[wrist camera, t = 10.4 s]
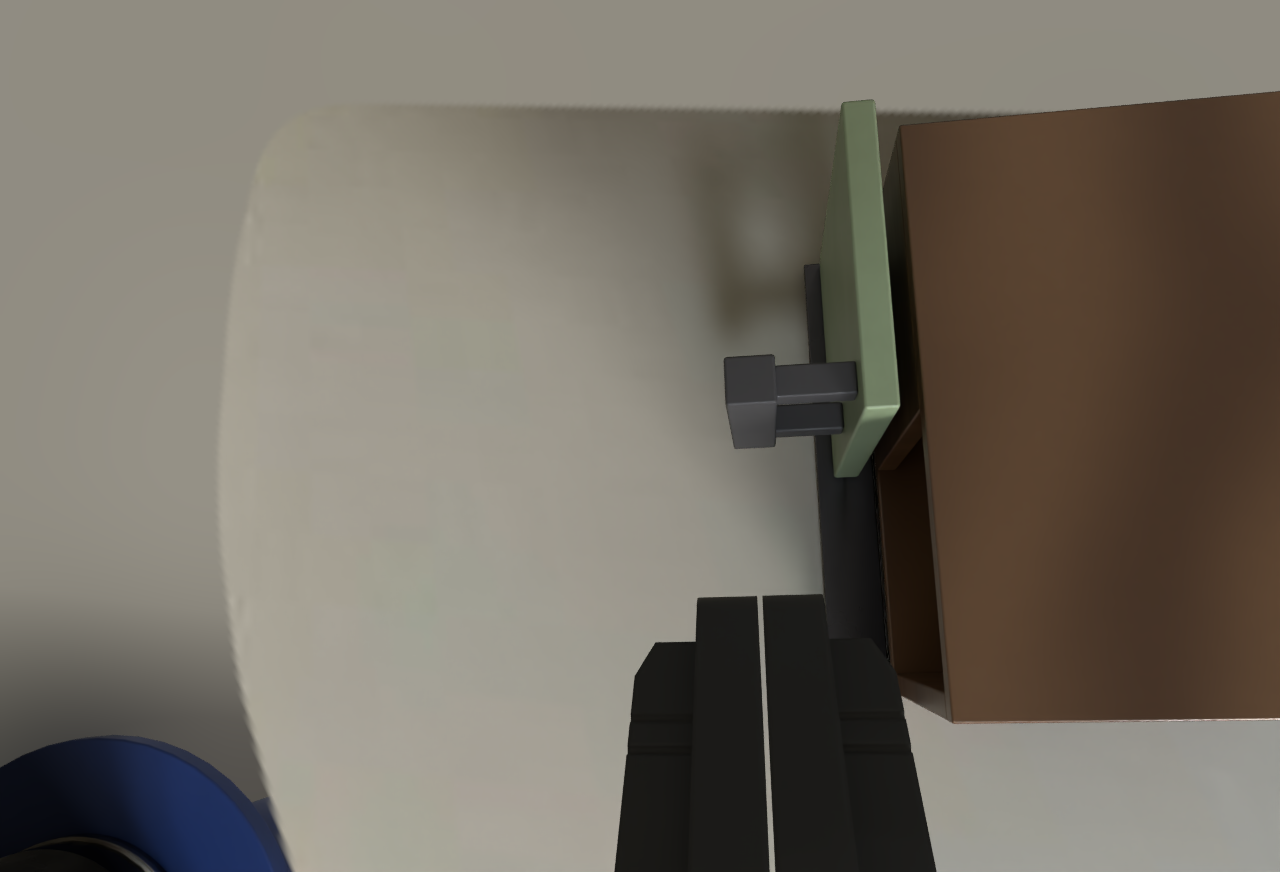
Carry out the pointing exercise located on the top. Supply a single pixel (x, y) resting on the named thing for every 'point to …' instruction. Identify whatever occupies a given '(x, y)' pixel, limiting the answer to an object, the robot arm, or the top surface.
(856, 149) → the sliding door
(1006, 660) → the cabinet
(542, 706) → the top surface
